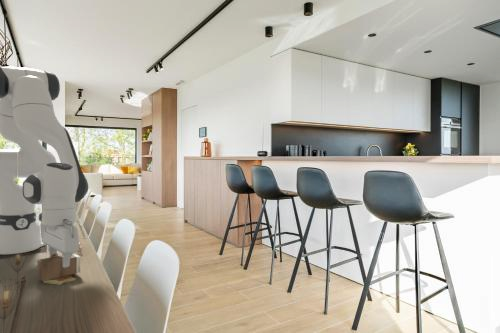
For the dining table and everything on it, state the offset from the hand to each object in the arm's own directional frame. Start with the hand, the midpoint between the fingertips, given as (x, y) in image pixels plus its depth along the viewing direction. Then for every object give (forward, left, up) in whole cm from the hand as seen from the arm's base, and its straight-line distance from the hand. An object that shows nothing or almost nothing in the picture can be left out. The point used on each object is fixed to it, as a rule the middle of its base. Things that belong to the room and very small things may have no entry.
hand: (59, 263), depth 97 cm
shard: (0, 0, -6) cm, 6 cm away
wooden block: (0, -5, -1) cm, 5 cm away
